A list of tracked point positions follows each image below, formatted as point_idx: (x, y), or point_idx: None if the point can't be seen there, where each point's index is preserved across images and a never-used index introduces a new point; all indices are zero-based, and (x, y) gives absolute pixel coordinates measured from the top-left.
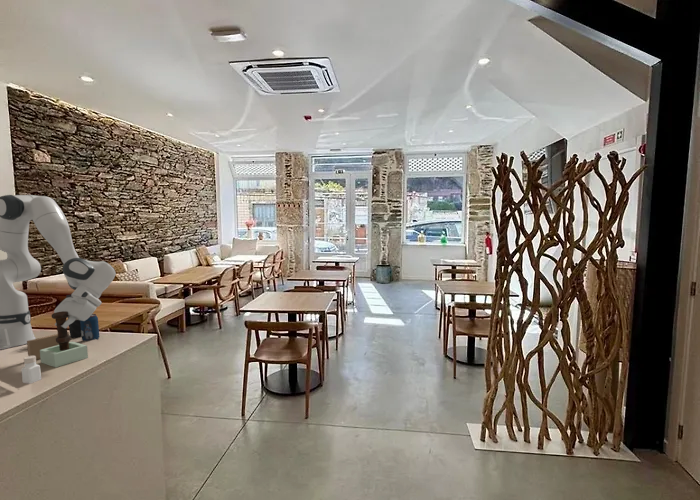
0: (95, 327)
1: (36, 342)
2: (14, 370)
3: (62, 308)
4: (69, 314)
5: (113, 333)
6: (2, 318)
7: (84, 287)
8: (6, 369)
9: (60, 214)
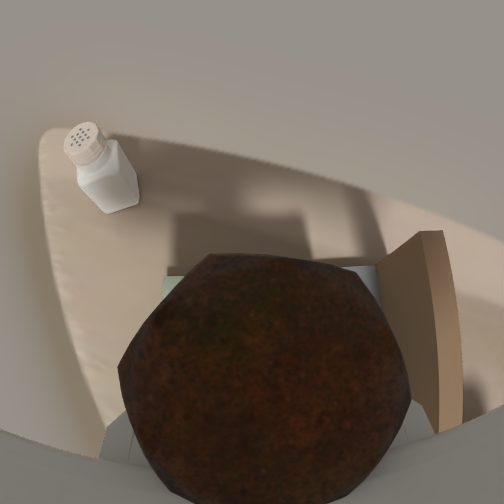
0: None
1: (420, 271)
2: (342, 205)
3: (496, 481)
4: (119, 468)
5: None
6: None
7: None
8: (379, 196)
9: None
